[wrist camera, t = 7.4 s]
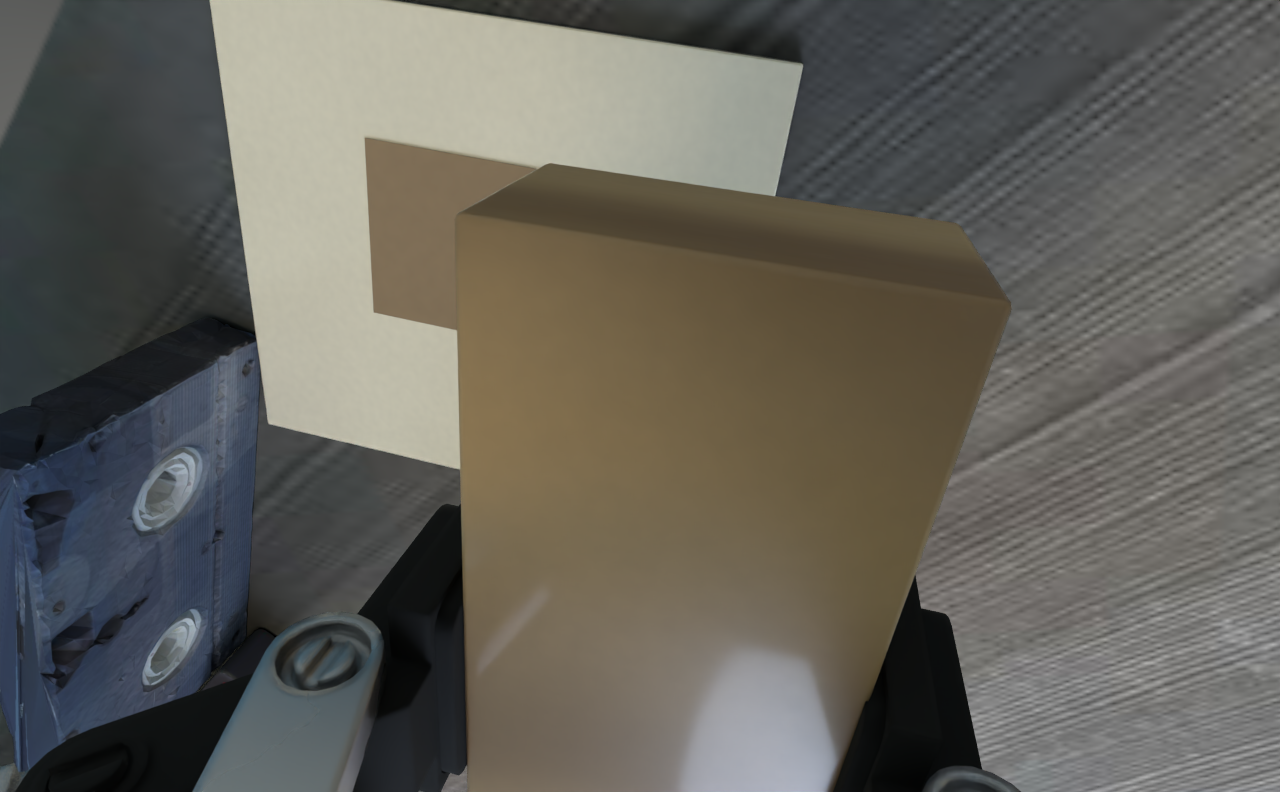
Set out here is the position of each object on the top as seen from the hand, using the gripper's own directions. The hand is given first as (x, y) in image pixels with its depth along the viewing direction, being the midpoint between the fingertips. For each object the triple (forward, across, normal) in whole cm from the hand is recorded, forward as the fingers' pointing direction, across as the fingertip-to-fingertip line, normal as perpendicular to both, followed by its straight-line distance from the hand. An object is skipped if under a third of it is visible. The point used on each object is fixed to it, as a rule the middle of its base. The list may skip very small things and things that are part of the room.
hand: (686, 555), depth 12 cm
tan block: (+1, 0, 0) cm, 1 cm away
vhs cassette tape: (+14, +21, +14) cm, 29 cm away
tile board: (+14, +9, +1) cm, 16 cm away
